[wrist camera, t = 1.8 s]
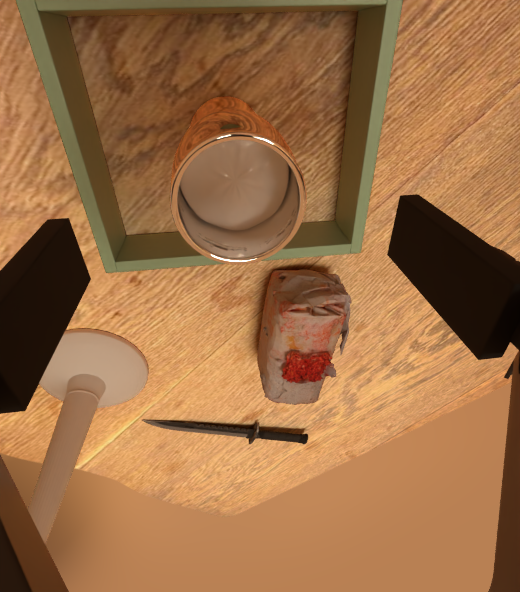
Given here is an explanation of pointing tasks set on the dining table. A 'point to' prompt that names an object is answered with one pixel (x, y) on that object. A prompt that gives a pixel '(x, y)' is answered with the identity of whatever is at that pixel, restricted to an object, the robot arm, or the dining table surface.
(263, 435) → the knife
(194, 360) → the dining table surface
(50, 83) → the green rectangular open frame
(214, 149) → the beer glass
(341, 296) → the food item
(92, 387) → the candlestick
